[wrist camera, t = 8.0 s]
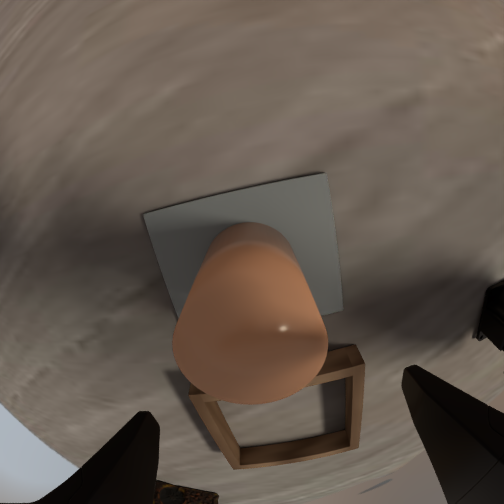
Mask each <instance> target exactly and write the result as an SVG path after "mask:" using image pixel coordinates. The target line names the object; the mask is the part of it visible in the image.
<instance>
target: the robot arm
mask: <svg viewBox="0 0 504 504" xmlns="http://www.w3.org/2000/svg"><path fill="white" fill-rule="evenodd" d="M476 338H477V340H478V341H481V340H483V339H485V338H488V339H489V340H490V341H491V342H492V343H493V344H494V345H495V346H496V347H497V348H498V349H499V350H500V351H501V350H503V351H504V281H503V282H501V283H498V284H496V285H494V286H492V287H490V288H488V290H487V292H486V296H485V302H484V307H483V312H482V316H481V321H480V325H479V329H478V333H477V337H476ZM402 390H403V393H404V396H405V399H406V402H407V405H408V408H409V411H410V414H411V417H412V420H413V423H414V425H415V427H416V430H417V432H418V434H419V436H420V438H421V440H422V443H423V445H424V447H425V449H426V452H427V454H428V456H429V458H430V461H431V463H432V465H433V468H434V470H435V473H436V475H437V477H438V480H439V482H440V485H441V487H442V490H443V492H444V495H445V497H446V500H447V503H448V504H504V413H502V412H500V411H498V410H496V409H494V408H492V407H491V406H488V405H487V404H485V403H483V402H481V401H480V400H478V399H476V398H474V397H472V396H471V395H469V394H467V393H465V392H463V391H462V390H460V389H458V388H456V387H455V386H453V385H451V384H449V383H447V382H446V381H444V380H442V379H440V378H439V377H437V376H435V375H433V374H432V373H430V372H428V371H426V370H425V369H423V368H421V367H419V366H418V365H411V366H408V367H406V368H405V369H404V372H403V378H402ZM159 439H160V426H159V424H158V422H157V421H156V420H155V418H154V417H153V415H152V414H151V413H150V412H149V411H139V412H138V413H137V414H136V415H135V416H134V417H132V418H131V419H130V420H129V421H128V422H127V423H126V424H125V425H124V426H123V427H122V428H121V429H120V430H119V431H118V432H117V433H116V434H115V435H114V436H113V437H112V438H111V439H110V440H109V441H108V442H107V443H106V444H105V445H104V446H103V447H102V448H101V449H100V450H99V451H98V452H97V453H95V454H94V455H93V456H92V457H91V458H90V459H89V460H88V461H87V462H86V463H85V464H84V465H83V466H82V468H80V469H78V470H77V471H76V472H75V473H74V474H73V475H72V476H71V477H70V478H68V479H67V480H66V481H65V482H63V483H62V484H61V485H60V486H58V487H57V488H56V489H54V490H53V491H51V492H50V493H48V494H47V495H46V496H44V497H43V498H41V499H40V500H37V501H35V502H31V503H0V504H153V497H154V490H155V483H156V476H157V470H158V462H159Z"/></svg>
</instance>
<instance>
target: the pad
mask: <svg viewBox="0 0 504 504" xmlns="http://www.w3.org/2000/svg"><path fill="white" fill-rule="evenodd" d="M143 216H144V220H145V223H146V226H147V230H148V233H149V236H150V239H151V242H152V245H153V249H154V252H155V255H156V258H157V261H158V264H159V267H160V270H161V272H162V275H163V278H164V281H165V284H166V287H167V289H168V292H169V295H170V298H171V300H172V303H173V306H174V308H175V311H176V313H177V316H178V319H179V317H180V314H181V312H182V309H183V307H184V304H185V302H186V300H187V297H188V295H189V292H190V290H191V288H192V285H193V283H194V280H195V278H196V276H197V273H198V271H199V269H200V266H201V264H202V262H203V259H204V257H205V255H206V252H207V250H208V248H209V246H210V244H211V242H212V241H213V240H214V238H215V237H216V236H217V235H218V234H219V233H221V232H222V231H223V230H225V229H226V228H228V227H230V226H233V225H236V224H239V223H245V222H255V223H261V224H265V225H268V226H270V227H272V228H274V229H276V230H277V231H279V232H280V233H281V234H282V235H283V236H284V237H285V238H286V239H287V240H288V242H289V243H290V245H291V247H292V249H293V251H294V254H295V256H296V258H297V261H298V263H299V265H300V268H301V270H302V272H303V275H304V277H305V279H306V282H307V284H308V286H309V289H310V291H311V294H312V296H313V298H314V301H315V303H316V306H317V308H318V311H319V313H320V315H321V316H323V315H327V314H331V313H335V312H339V311H343V310H344V309H343V296H342V285H341V274H340V264H339V255H338V246H337V238H336V230H335V223H334V216H333V209H332V202H331V196H330V190H329V184H328V178H327V173H320V174H314V175H308V176H303V177H298V178H292V179H287V180H282V181H277V182H272V183H267V184H262V185H258V186H253V187H248V188H244V189H239V190H235V191H230V192H226V193H222V194H218V195H213V196H209V197H205V198H201V199H197V200H193V201H189V202H185V203H181V204H178V205H174V206H170V207H166V208H163V209H159V210H155V211H152V212H148V213H145V214H143Z"/></svg>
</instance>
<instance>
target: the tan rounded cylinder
mask: <svg viewBox="0 0 504 504" xmlns="http://www.w3.org/2000/svg"><path fill="white" fill-rule="evenodd" d="M172 343H173V353H174V357H175V360H176V362H177V365H178V367H179V368H180V370H181V372H182V373H183V374H184V376H185V377H186V378H187V379H188V380H189V381H190V382H191V383H192V384H193V385H194V386H196V387H197V388H198V389H200V390H201V391H203V392H204V393H206V394H208V395H210V396H212V397H215V398H217V399H220V400H223V401H227V402H231V403H237V404H263V403H269V402H274V401H277V400H281V399H283V398H286V397H288V396H291V395H293V394H294V393H296V392H298V391H300V390H301V389H302V388H304V387H305V386H306V385H308V384H309V383H310V382H311V381H312V380H313V379H314V378H315V377H316V375H317V374H318V373H319V371H320V370H321V368H322V366H323V364H324V362H325V359H326V356H327V351H328V336H327V331H326V328H325V325H324V323H323V320H322V318H321V315H320V313H319V311H318V308H317V306H316V303H315V301H314V298H313V296H312V294H311V291H310V289H309V286H308V284H307V282H306V279H305V277H304V275H303V272H302V270H301V268H300V265H299V263H298V261H297V258H296V256H295V254H294V251H293V249H292V247H291V245H290V243H289V242H288V240H287V239H286V238H285V237H284V236H283V235H282V234H281V233H280V232H279V231H277V230H276V229H274V228H272V227H270V226H268V225H265V224H261V223H255V222H245V223H239V224H236V225H233V226H230V227H228V228H226V229H225V230H223V231H222V232H221V233H219V234H218V235H217V236H216V237H215V238H214V240H213V241H212V242H211V244H210V246H209V248H208V250H207V252H206V255H205V257H204V259H203V262H202V264H201V266H200V269H199V271H198V273H197V276H196V278H195V280H194V283H193V285H192V288H191V290H190V292H189V295H188V297H187V300H186V302H185V304H184V307H183V309H182V312H181V314H180V317H179V319H178V322H177V324H176V327H175V330H174V334H173V341H172Z"/></svg>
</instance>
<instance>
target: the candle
mask: <svg viewBox="0 0 504 504" xmlns="http://www.w3.org/2000/svg"><path fill="white" fill-rule="evenodd" d="M218 498H219V495H218V494H217V493H213V492H207V491H202V490H197V489H192V488H186V487H179V486H175V485H171V484H168V483H165V482H162V481H156V485H155V491H154V497H153V504H218Z"/></svg>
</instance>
